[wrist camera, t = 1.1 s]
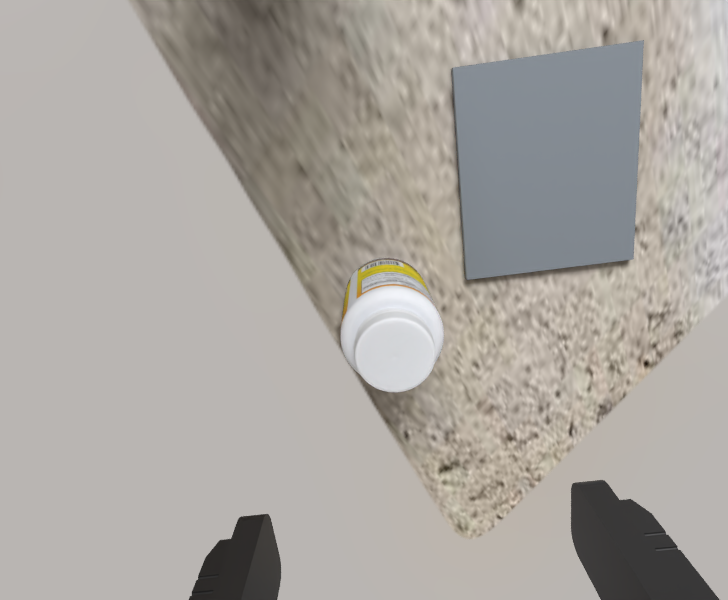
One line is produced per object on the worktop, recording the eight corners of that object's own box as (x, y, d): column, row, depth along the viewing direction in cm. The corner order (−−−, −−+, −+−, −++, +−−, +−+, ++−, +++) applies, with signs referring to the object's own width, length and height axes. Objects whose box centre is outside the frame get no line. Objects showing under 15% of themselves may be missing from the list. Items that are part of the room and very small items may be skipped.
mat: (451, 69, 28) (452, 67, 27) (638, 42, 27) (643, 40, 27) (465, 277, 32) (466, 279, 31) (629, 257, 31) (633, 259, 31)
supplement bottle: (385, 347, 33) (393, 428, 24) (328, 295, 32) (312, 357, 22) (443, 294, 32) (476, 356, 22) (386, 237, 31) (396, 278, 21)
